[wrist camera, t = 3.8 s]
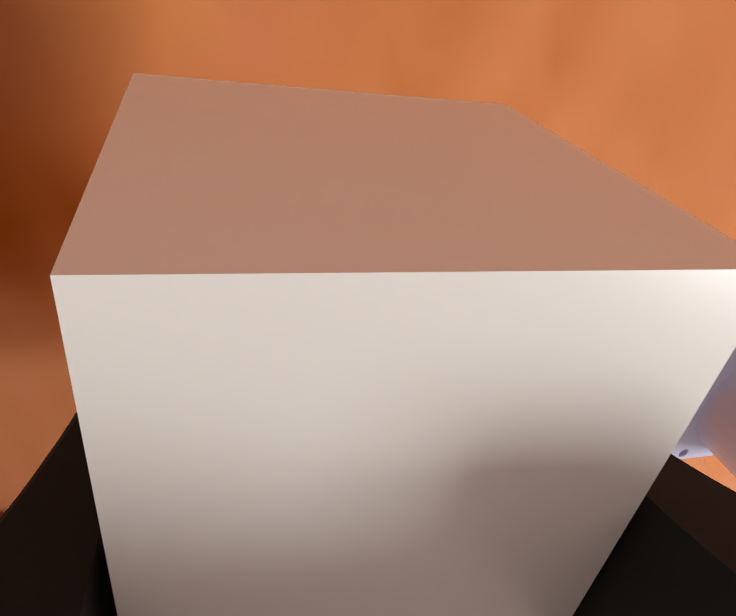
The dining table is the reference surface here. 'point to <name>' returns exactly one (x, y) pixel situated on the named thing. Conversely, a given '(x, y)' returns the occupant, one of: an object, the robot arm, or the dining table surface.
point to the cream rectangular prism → (373, 352)
